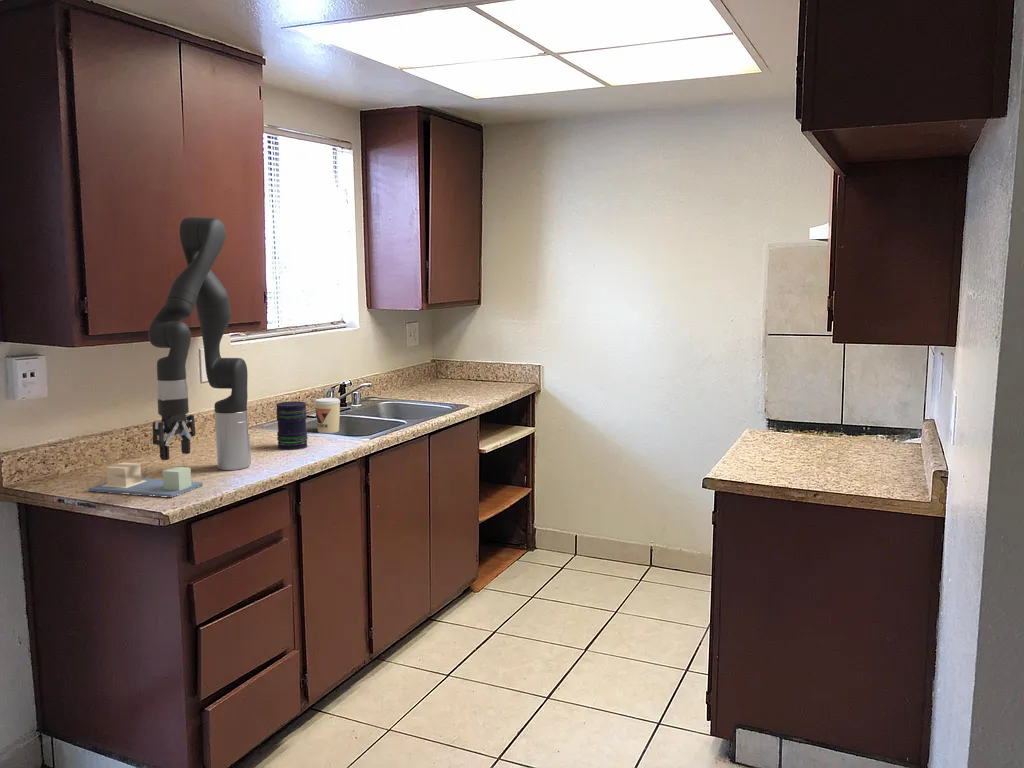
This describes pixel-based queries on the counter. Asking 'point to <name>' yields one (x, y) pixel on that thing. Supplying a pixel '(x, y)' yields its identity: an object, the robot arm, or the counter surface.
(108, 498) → the counter surface
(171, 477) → the sage block
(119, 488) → the board
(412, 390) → the counter surface
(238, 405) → the robot arm
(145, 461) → the counter surface
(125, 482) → the maple block
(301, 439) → the storage jar
